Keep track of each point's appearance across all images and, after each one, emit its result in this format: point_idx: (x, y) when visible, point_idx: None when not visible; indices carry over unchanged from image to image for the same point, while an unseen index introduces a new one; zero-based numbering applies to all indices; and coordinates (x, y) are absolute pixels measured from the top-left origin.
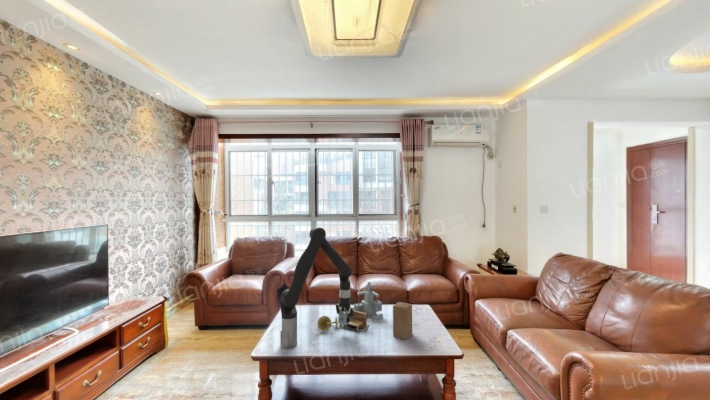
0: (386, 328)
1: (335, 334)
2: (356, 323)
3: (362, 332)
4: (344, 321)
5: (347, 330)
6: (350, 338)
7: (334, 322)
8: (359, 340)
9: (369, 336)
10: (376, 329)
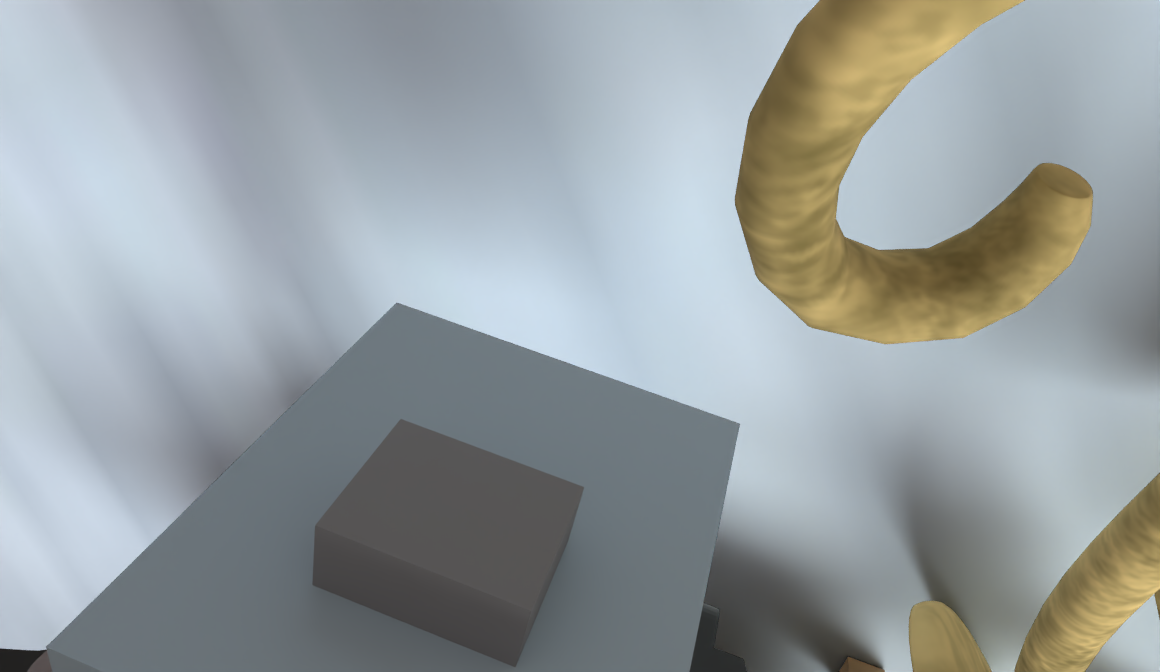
0: (13, 609)
1: (873, 211)
2: None
3: (257, 436)
4: (305, 399)
5: None
6: (345, 75)
7: (821, 12)
8: (97, 30)
9: (45, 290)
10: (113, 571)
